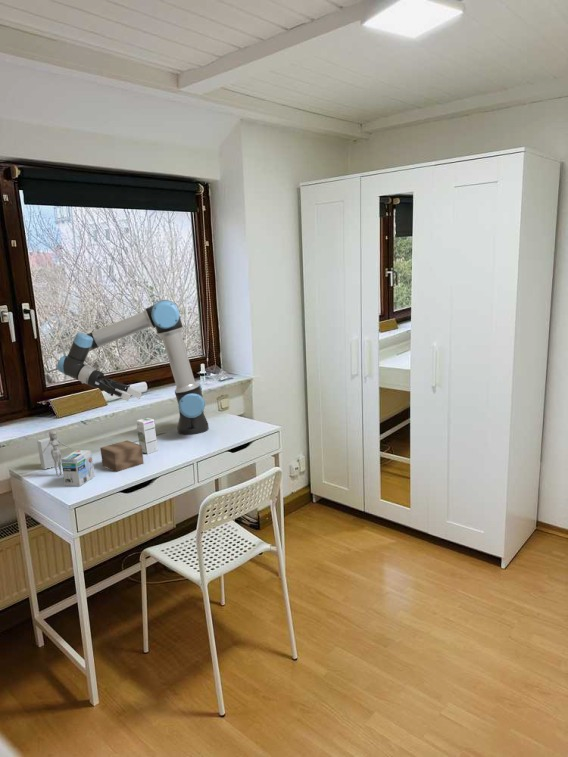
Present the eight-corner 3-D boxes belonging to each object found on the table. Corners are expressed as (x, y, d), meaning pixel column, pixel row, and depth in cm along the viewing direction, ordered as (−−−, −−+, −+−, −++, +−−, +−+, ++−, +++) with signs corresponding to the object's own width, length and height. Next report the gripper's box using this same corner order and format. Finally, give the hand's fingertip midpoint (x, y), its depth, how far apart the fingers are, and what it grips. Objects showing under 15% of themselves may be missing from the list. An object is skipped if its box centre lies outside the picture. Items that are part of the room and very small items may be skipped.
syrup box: (158, 450, 246) (154, 418, 244) (146, 454, 242) (143, 422, 240) (150, 448, 250) (147, 417, 248) (139, 452, 246) (135, 420, 243)
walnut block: (129, 458, 239) (126, 440, 238) (143, 464, 231) (141, 445, 229) (102, 466, 231) (100, 447, 230) (116, 472, 223) (114, 453, 221)
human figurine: (45, 480, 218) (38, 435, 215) (41, 478, 221) (35, 434, 218) (75, 471, 226) (69, 428, 222) (72, 469, 229) (66, 427, 225)
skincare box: (55, 464, 237) (51, 436, 235) (59, 466, 234) (55, 438, 232) (40, 468, 233) (36, 440, 231) (44, 470, 230) (40, 442, 228)
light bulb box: (80, 486, 209) (76, 459, 207) (64, 486, 211) (60, 458, 209) (95, 476, 220) (91, 449, 217) (79, 476, 221) (76, 449, 219)
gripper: (100, 383, 259) (142, 402, 257) (75, 386, 234) (120, 407, 232) (106, 368, 258) (148, 387, 256) (81, 369, 233) (127, 390, 232)
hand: (135, 397), depth 244 cm, fingers open, 13 cm apart
